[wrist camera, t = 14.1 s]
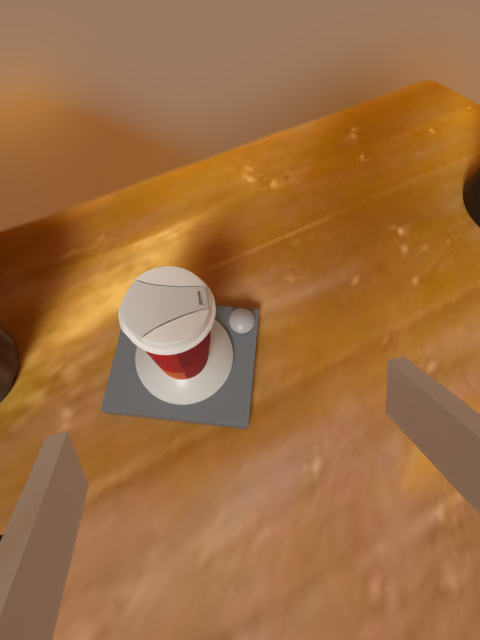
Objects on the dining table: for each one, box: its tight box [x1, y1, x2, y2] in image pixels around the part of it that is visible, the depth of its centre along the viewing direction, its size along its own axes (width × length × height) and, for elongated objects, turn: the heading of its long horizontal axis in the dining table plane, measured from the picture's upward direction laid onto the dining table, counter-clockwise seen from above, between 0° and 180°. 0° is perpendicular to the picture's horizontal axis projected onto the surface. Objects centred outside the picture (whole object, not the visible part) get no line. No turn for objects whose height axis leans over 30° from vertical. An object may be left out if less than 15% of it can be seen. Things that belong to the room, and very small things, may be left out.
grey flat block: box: [101, 305, 259, 429], centre depth 43 cm, size 16×14×3 cm
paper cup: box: [119, 266, 216, 380], centre depth 35 cm, size 8×8×14 cm
